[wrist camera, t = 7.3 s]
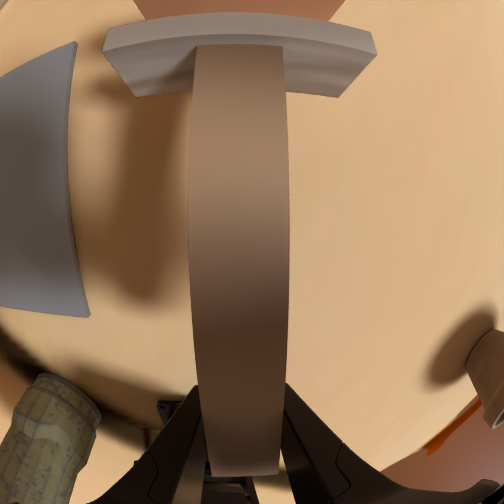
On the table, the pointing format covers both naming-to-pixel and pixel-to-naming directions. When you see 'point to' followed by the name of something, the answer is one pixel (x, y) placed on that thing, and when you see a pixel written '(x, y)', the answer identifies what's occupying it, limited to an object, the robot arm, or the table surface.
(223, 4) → the tile
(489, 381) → the flower pot
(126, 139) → the table surface
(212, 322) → the scraper
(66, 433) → the thermos
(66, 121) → the mat
